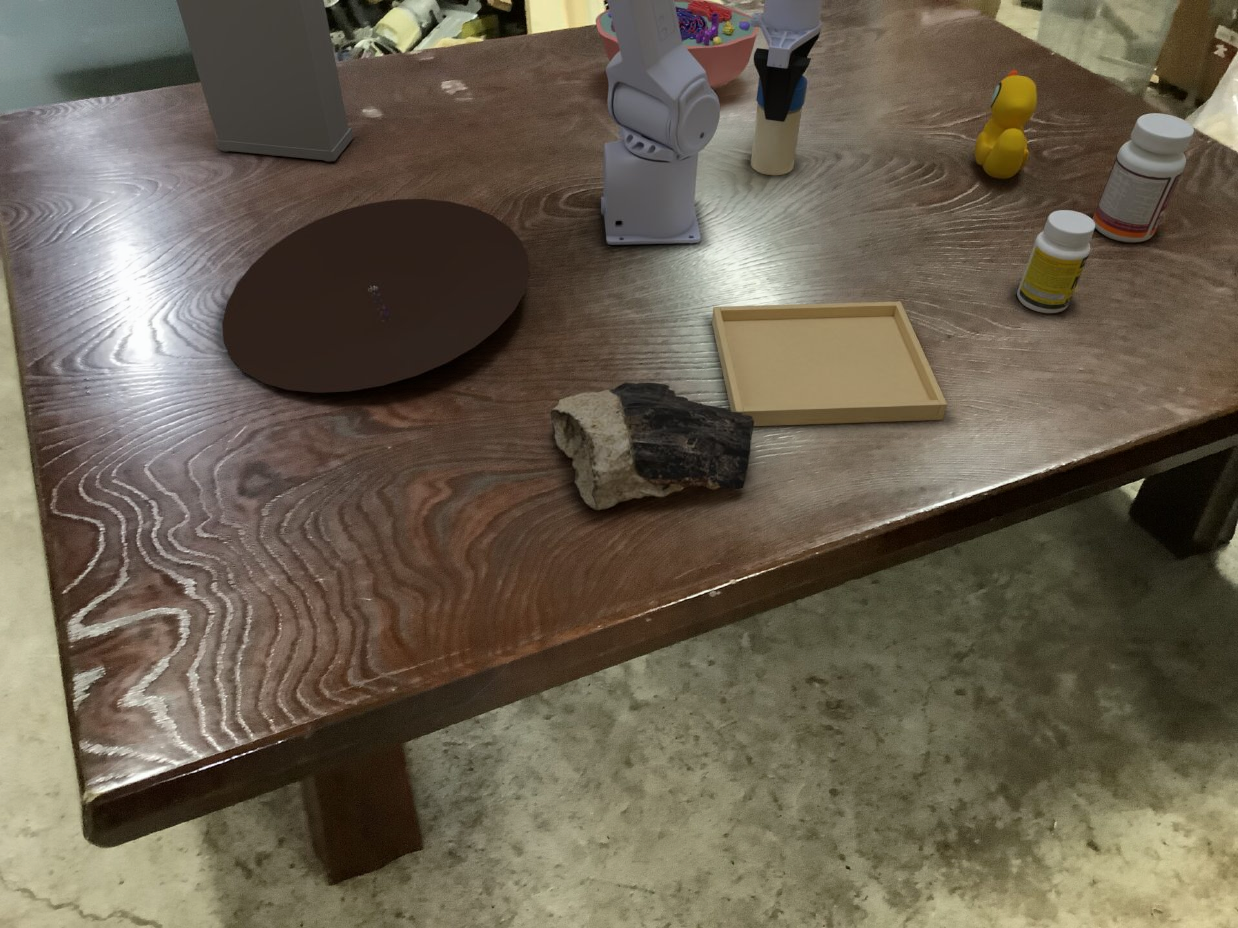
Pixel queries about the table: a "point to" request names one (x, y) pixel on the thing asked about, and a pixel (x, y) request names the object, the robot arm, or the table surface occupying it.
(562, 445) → the mineral specimen
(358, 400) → the table surface
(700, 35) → the cell model
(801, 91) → the lid
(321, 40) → the grey upright box
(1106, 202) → the pill bottle
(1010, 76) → the duckling
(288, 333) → the dark brown round disc
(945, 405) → the tray
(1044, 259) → the supplement bottle
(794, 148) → the jar
